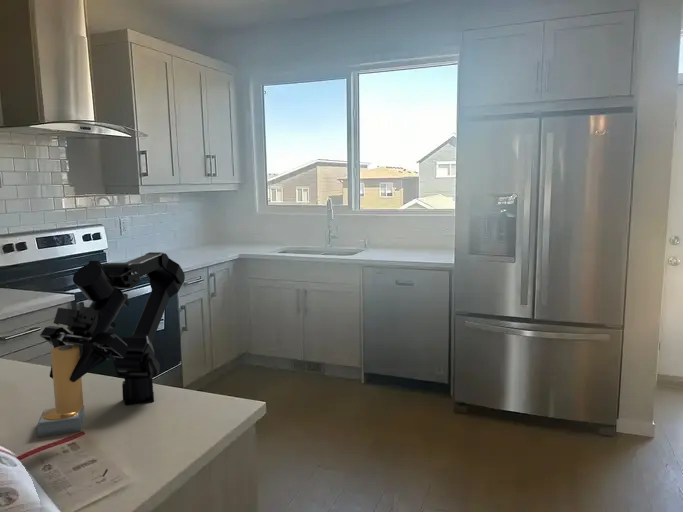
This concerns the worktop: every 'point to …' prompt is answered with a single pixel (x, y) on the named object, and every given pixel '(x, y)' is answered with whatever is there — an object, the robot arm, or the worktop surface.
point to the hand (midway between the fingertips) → (61, 379)
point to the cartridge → (66, 379)
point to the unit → (59, 422)
